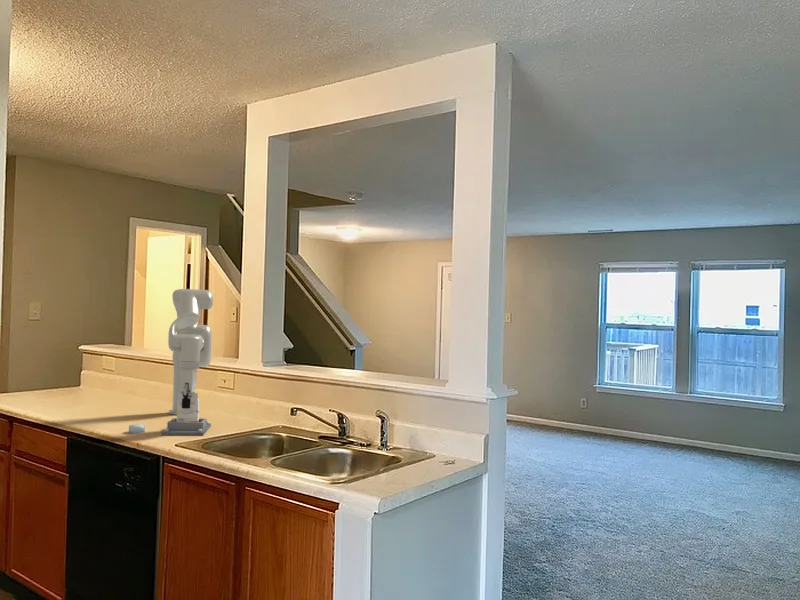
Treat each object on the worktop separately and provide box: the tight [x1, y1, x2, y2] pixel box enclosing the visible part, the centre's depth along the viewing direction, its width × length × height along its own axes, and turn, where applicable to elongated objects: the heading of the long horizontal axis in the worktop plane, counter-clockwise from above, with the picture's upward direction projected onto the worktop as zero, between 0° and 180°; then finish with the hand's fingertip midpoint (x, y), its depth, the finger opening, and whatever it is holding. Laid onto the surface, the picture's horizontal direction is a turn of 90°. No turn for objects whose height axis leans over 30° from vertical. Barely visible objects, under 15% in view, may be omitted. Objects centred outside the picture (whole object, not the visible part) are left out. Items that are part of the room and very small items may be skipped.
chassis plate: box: [161, 417, 212, 437], centre depth 262 cm, size 20×16×4 cm
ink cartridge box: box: [176, 392, 200, 422], centre depth 263 cm, size 9×5×15 cm, turn 102°
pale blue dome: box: [128, 423, 146, 435], centre depth 256 cm, size 6×6×3 cm
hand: (188, 406), depth 262 cm, fingers open, 9 cm apart
